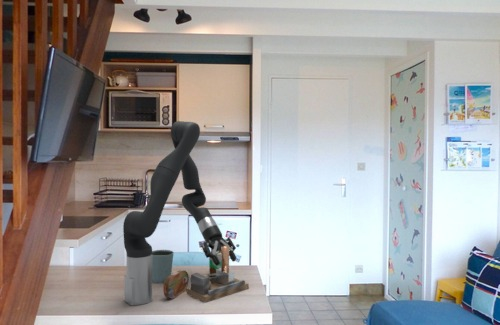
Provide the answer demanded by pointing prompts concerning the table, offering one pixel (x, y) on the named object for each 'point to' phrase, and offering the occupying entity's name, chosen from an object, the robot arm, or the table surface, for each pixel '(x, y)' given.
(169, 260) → the teal cup
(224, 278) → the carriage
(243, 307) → the table surface
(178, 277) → the tin
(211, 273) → the food container
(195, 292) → the railed wooden base
